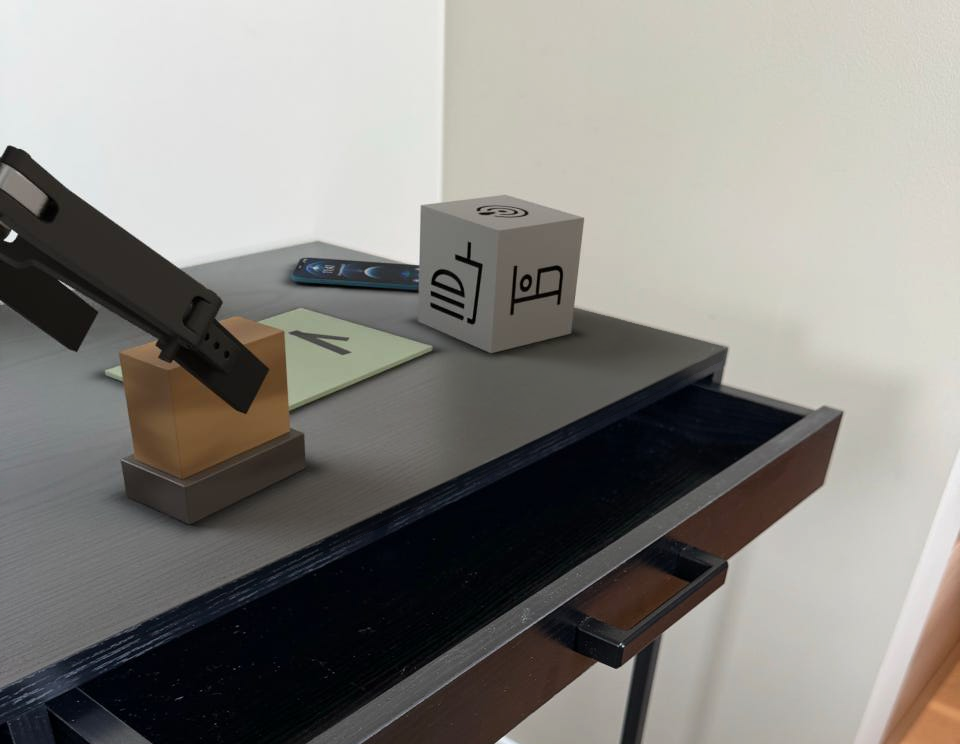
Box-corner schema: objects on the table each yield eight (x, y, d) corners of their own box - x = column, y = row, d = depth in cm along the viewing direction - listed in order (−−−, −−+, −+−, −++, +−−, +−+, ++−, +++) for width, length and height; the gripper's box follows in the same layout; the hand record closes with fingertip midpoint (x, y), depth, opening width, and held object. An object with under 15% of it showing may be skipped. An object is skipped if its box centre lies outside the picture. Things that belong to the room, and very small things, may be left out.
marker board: (105, 375, 74) (104, 369, 74) (301, 311, 90) (301, 307, 89) (247, 428, 68) (247, 422, 68) (432, 350, 83) (432, 345, 83)
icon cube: (490, 353, 83) (499, 230, 78) (418, 321, 89) (420, 205, 84) (571, 333, 89) (584, 217, 83) (497, 304, 95) (505, 194, 89)
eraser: (126, 496, 59) (101, 350, 54) (245, 444, 66) (233, 311, 61) (189, 525, 56) (170, 375, 51) (306, 468, 63) (299, 331, 58)
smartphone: (441, 287, 96) (289, 276, 96) (441, 293, 97) (290, 282, 96) (443, 266, 103) (301, 256, 102) (443, 272, 103) (301, 262, 102)
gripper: (-423, 98, 40) (-7, 363, 59) (-65, 203, 29) (301, 484, 48) (-331, -56, 40) (51, 256, 59) (53, -8, 30) (368, 353, 49)
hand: (164, 359), depth 54 cm, fingers open, 13 cm apart
